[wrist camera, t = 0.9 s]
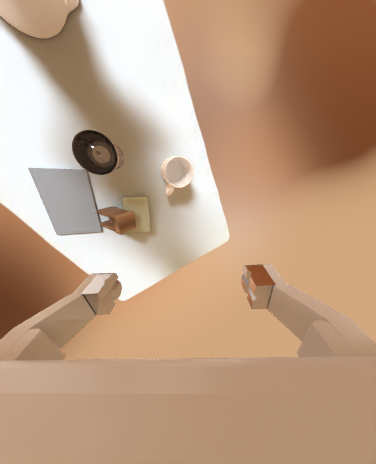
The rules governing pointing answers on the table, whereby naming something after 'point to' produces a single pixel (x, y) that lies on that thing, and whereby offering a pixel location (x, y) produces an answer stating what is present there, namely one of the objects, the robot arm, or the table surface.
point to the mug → (176, 173)
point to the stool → (118, 219)
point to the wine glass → (96, 152)
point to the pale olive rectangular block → (138, 212)
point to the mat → (67, 199)
